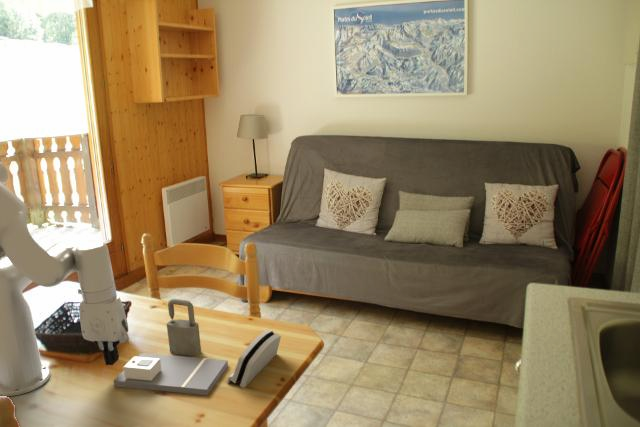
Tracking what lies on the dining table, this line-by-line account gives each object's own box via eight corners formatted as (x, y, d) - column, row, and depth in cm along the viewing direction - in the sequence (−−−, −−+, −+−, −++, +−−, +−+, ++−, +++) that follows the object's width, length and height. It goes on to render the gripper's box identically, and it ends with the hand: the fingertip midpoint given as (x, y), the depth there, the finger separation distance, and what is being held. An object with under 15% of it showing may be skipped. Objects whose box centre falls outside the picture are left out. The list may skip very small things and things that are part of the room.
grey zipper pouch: (260, 350, 147) (269, 320, 143) (275, 358, 145) (284, 328, 142) (225, 383, 132) (234, 351, 128) (242, 393, 131) (251, 360, 127)
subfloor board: (114, 386, 133) (113, 380, 132) (142, 358, 145) (141, 352, 145) (207, 395, 128) (206, 389, 127) (227, 365, 140) (227, 359, 140)
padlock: (176, 345, 151) (170, 295, 147) (202, 349, 148) (197, 298, 144) (168, 353, 147) (161, 301, 143) (195, 357, 145) (189, 304, 140)
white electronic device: (124, 378, 133) (123, 365, 132) (135, 367, 138) (134, 354, 137) (151, 380, 131) (149, 367, 130) (161, 369, 136) (159, 357, 135)
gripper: (61, 299, 129) (76, 368, 134) (118, 301, 126) (131, 372, 131) (81, 286, 136) (94, 353, 141) (135, 287, 133) (147, 355, 138)
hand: (112, 362), depth 136 cm, fingers closed
